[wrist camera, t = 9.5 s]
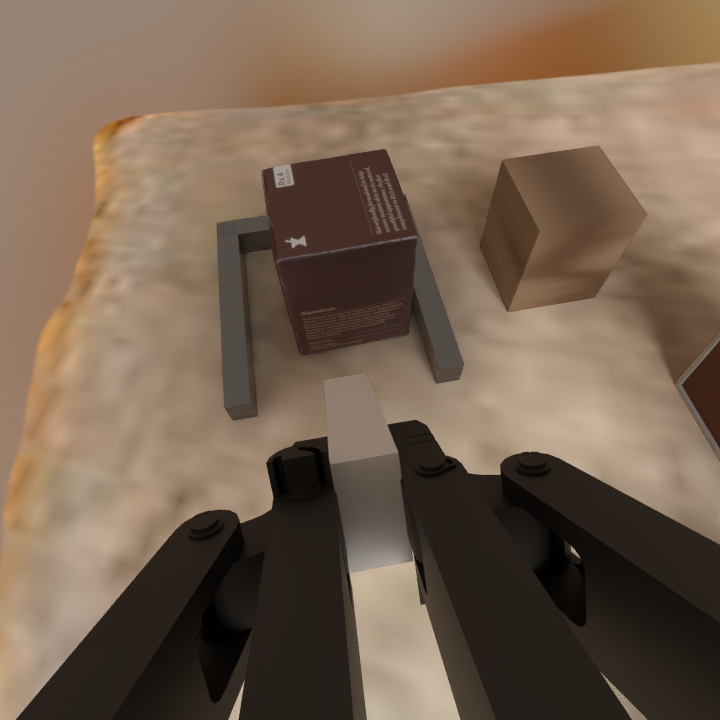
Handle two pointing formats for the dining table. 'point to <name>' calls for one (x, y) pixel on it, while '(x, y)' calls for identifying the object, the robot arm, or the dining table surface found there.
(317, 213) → the box
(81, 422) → the dining table surface
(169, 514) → the dining table surface
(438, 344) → the corral
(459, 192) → the dining table surface
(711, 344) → the food container
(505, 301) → the walnut block
